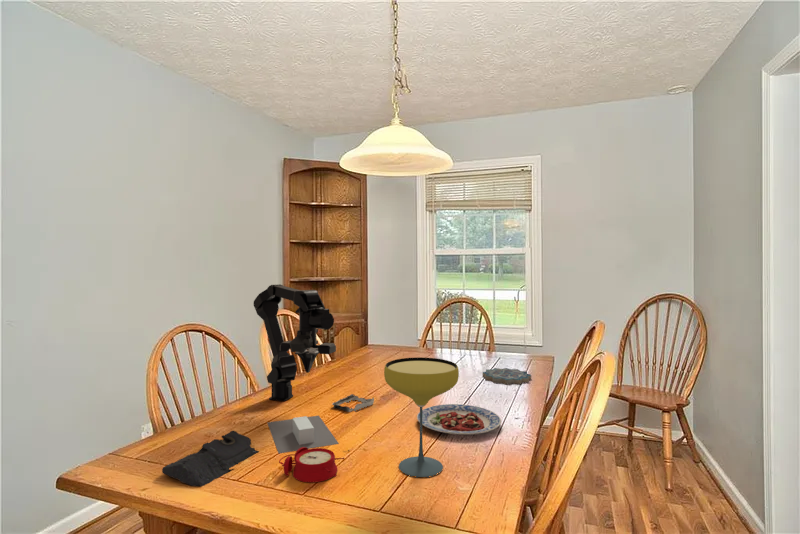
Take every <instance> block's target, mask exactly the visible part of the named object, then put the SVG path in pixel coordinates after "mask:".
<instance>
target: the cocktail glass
mask: <svg viewBox="0 0 800 534" xmlns="http://www.w3.org/2000/svg"><path fill="white" fill-rule="evenodd" d="M383 373H384V374H383V375H384V377H383V378H384V381H385V382H386V383H387V385H388V386H389V387H390V388H391V389H392V390H394V391H396V392H397V393H400V394H402V395H404V396H406V397H408V398H410V399H411V400H412V401H413V402H414V404H415V405H416V406H417V407H418V408H419V412H420V423H419V443H418V444H419V445H418V446H419V449H418V456H417V455H416V456H411V457H407V458H404V459H403V460H401V461H400V462H399V464H398V469H399V471H400V470H401V471H402V472H403V474H404V473H405V474H404V475H406V474H407V475H406V476H408V475H410V476H409V477H412V476H416V477H415V478H418V477H427V478H430V477H429V476H432V477H434V476H433V475H436V474H437V473H439V472H441V471H442V472H443V470H444V465H443V463H442V462H441V461H439V460H438V459H436V458H433V457H428V456H424V452H423V451H424V449H423V448H424V447H423V425H422V410H423V408H425V406H426V405H428V403H429V401H430V400H432V399H433V398H436V397H437V396H438V397H439V396H440V395H442V394H445V393H447V392H449V391H451V389H453V388H454V387H455V386H456V385H457V383H458V382H459V377H460V376H459V375H460V371H459V367H458V365H457V364H456V363H455V362H453V361H450V360H447V359H443V358H437V357H421V356H420V357H419V356H418V357H405V358H404V357H403V358H397V359H393V360H390V361H388V362H386V364H385V365H384V369H383ZM442 469H443V470H442ZM401 471H400V472H401ZM402 472H401V473H402ZM442 472H441V473H442ZM439 474H440V473H439ZM436 476H437V475H436Z"/></svg>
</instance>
